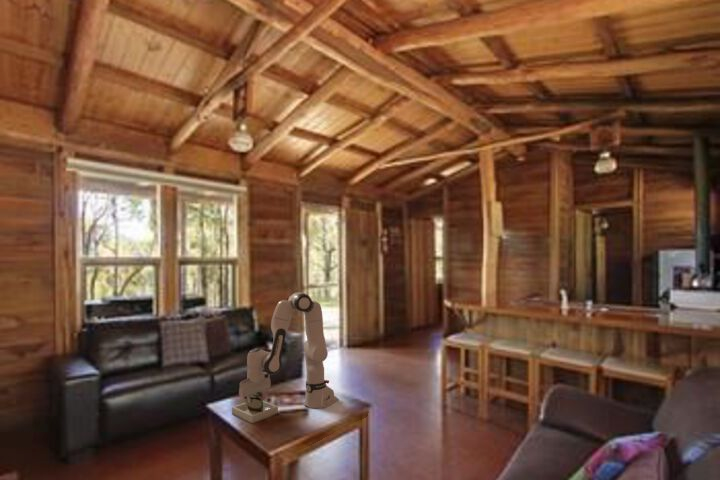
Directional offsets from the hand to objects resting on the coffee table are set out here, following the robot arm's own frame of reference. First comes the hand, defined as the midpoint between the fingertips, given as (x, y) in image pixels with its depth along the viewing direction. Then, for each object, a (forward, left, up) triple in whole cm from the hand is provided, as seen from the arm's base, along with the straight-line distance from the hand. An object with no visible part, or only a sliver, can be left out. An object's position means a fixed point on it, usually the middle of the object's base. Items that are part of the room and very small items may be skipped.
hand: (255, 400), depth 243 cm
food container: (-3, -1, -6) cm, 7 cm away
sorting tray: (0, 0, -8) cm, 8 cm away
